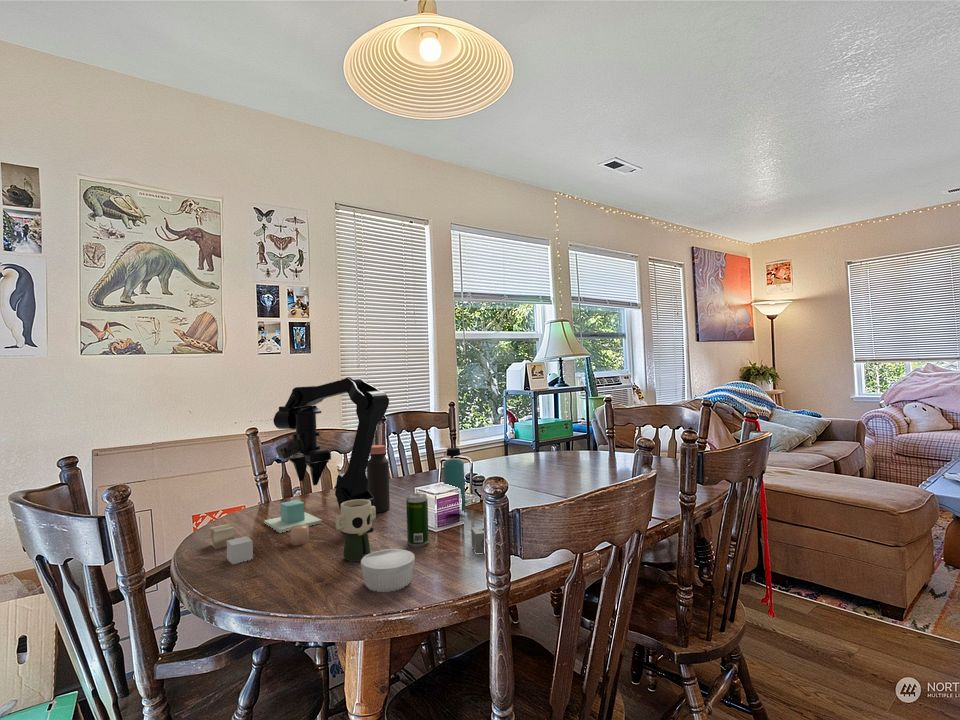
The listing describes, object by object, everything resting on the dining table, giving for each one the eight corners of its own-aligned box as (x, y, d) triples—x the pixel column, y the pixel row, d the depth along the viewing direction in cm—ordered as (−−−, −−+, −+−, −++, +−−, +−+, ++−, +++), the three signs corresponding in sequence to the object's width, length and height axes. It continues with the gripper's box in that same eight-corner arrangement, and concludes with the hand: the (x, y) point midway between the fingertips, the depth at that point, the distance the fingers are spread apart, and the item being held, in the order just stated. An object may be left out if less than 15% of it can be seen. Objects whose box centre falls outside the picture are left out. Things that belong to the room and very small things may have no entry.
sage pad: (321, 523, 147) (321, 519, 147) (280, 533, 139) (279, 529, 139) (304, 514, 156) (304, 511, 156) (264, 523, 148) (264, 520, 148)
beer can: (430, 545, 127) (429, 497, 127) (409, 548, 125) (408, 499, 125) (425, 538, 132) (424, 492, 132) (405, 541, 130) (404, 494, 130)
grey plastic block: (252, 559, 120) (252, 540, 120) (232, 564, 117) (232, 545, 117) (246, 554, 124) (246, 536, 124) (227, 559, 121) (226, 540, 121)
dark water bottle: (365, 508, 161) (364, 445, 161) (386, 505, 164) (385, 443, 164) (370, 513, 155) (369, 448, 155) (392, 510, 158) (390, 446, 158)
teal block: (304, 520, 147) (304, 502, 147) (287, 524, 144) (287, 506, 144) (297, 516, 151) (297, 499, 151) (280, 520, 147) (280, 503, 148)
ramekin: (394, 568, 113) (393, 544, 113) (426, 582, 105) (426, 556, 105) (350, 584, 105) (349, 559, 105) (382, 601, 97) (381, 573, 97)
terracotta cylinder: (311, 542, 131) (311, 526, 131) (294, 546, 128) (294, 530, 128) (304, 538, 134) (304, 523, 134) (288, 542, 131) (287, 527, 132)
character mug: (345, 569, 113) (344, 510, 113) (328, 561, 117) (327, 505, 118) (385, 555, 121) (384, 500, 121) (367, 548, 126) (366, 495, 126)
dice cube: (496, 553, 121) (496, 531, 121) (476, 555, 120) (475, 534, 120) (491, 545, 126) (490, 525, 126) (471, 547, 124) (471, 527, 124)
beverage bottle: (456, 519, 147) (454, 450, 148) (439, 515, 151) (437, 448, 152) (470, 513, 153) (468, 447, 153) (453, 510, 157) (452, 445, 157)
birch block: (234, 545, 131) (234, 527, 131) (215, 549, 128) (215, 531, 128) (229, 540, 134) (229, 523, 134) (210, 545, 131) (210, 527, 131)
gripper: (266, 430, 149) (267, 483, 149) (292, 434, 136) (294, 493, 135) (302, 426, 157) (304, 477, 157) (330, 430, 143) (333, 485, 143)
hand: (308, 483), depth 148 cm, fingers open, 9 cm apart
